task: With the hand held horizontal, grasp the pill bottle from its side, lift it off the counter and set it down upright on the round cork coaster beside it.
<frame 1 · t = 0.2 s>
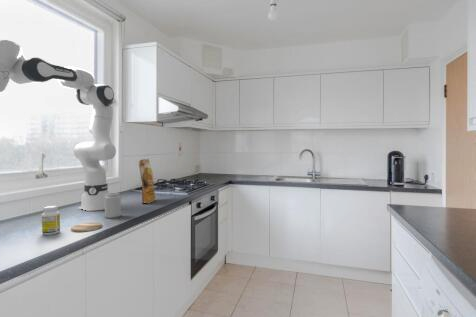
coaster: (86, 228, 122), on the worktop
pill bottle: (51, 233, 115), on the worktop
can: (113, 217, 141), on the worktop
pancake mix bag: (148, 202, 180), on the worktop
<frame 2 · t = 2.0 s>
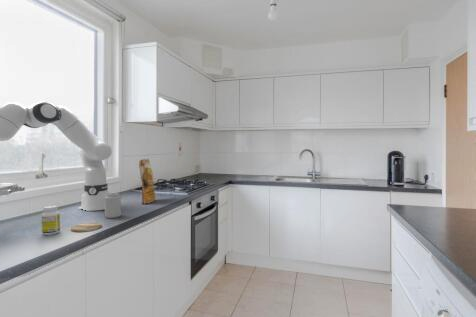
hand: (17, 190, 112), 18 cm above the worktop, fingers open, 8 cm apart
nothing on the worktop moved.
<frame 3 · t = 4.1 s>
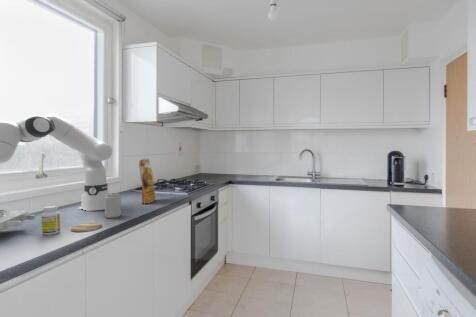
hand: (28, 220, 113), 6 cm above the worktop, fingers open, 8 cm apart
nothing on the worktop moved.
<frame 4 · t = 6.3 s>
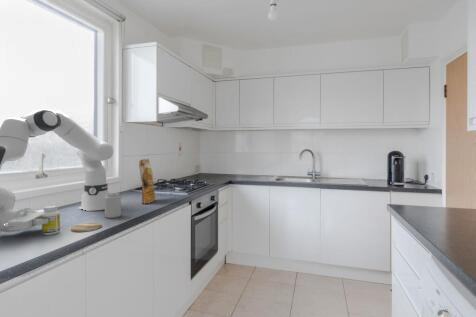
hand: (53, 218, 115), 6 cm above the worktop, fingers closed on pill bottle, 6 cm apart
pill bottle: (51, 233, 115), on the worktop, touching gripper
everything else where it was.
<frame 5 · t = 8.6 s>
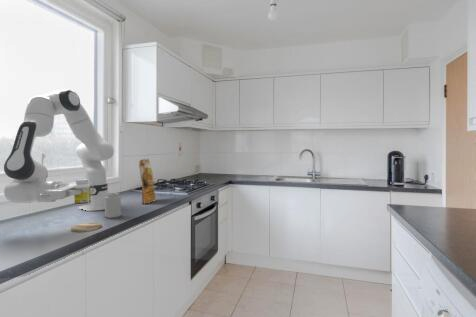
hand: (84, 190, 121), 17 cm above the worktop, fingers closed on pill bottle, 6 cm apart
pill bottle: (82, 205, 121), point 10 cm above the worktop, touching gripper
everything else where it was.
when the fingers open (8 cm above the worktop, at t = 10.9 s): pill bottle drops 1 cm, resting on coaster.
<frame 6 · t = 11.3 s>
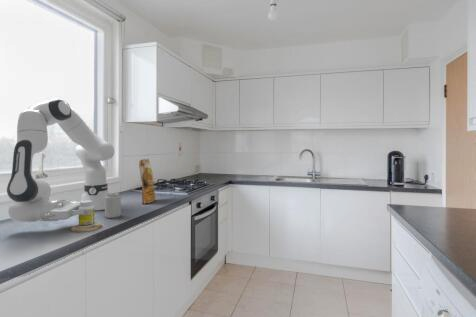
hand: (88, 209, 122), 8 cm above the worktop, fingers open, 8 cm apart
pill bottle: (86, 226, 122), point 1 cm above the worktop, touching coaster
everything else where it was.
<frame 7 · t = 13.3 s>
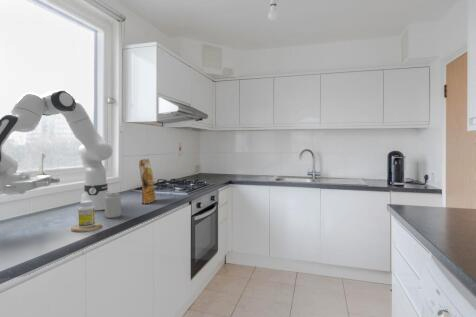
hand: (54, 181, 119), 21 cm above the worktop, fingers open, 8 cm apart
nothing on the worktop moved.
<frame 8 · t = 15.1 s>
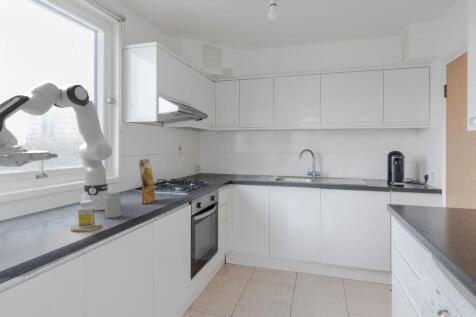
hand: (51, 155, 118), 32 cm above the worktop, fingers open, 8 cm apart
nothing on the worktop moved.
at the end: pill bottle 0.1 cm from the coaster (horizontally); pill bottle tilted 0°; the gripper is holding nothing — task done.
